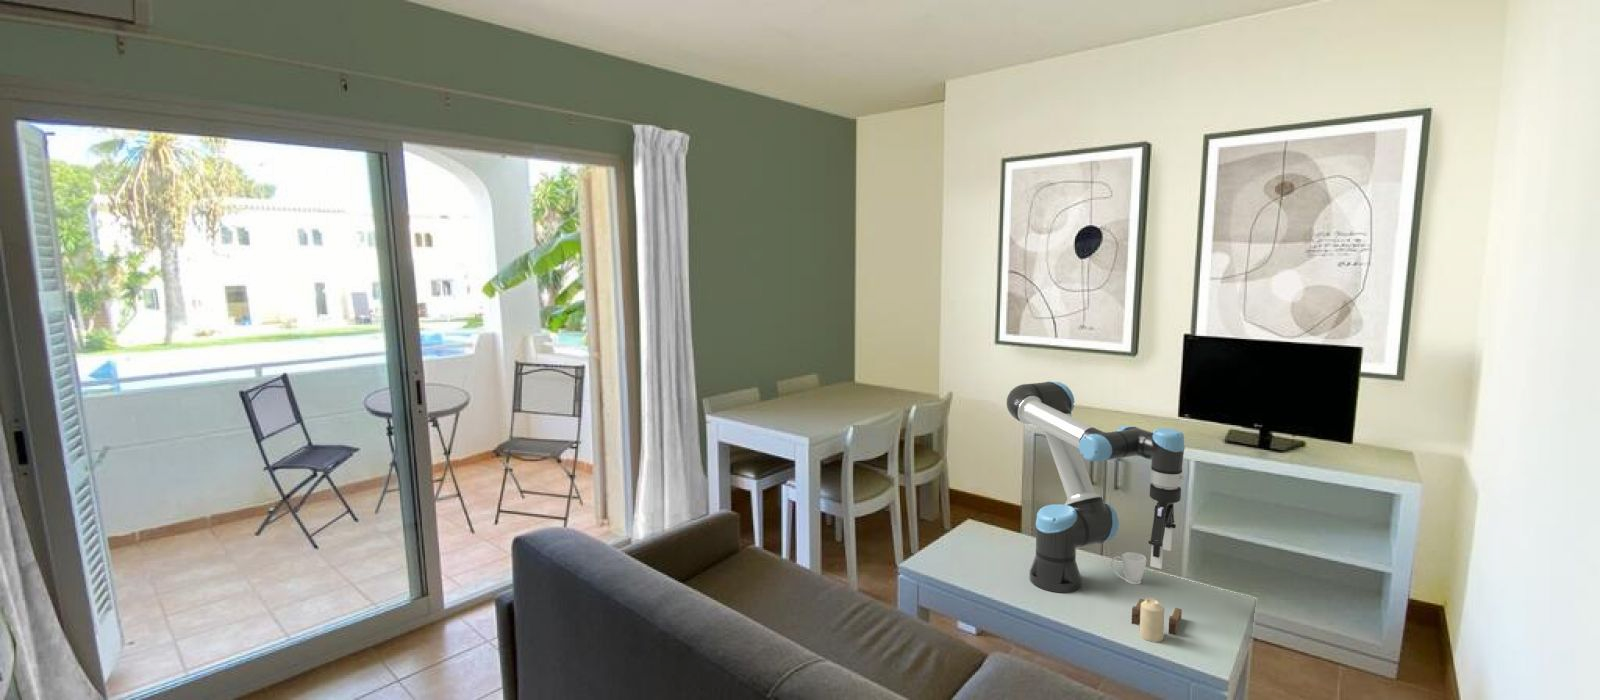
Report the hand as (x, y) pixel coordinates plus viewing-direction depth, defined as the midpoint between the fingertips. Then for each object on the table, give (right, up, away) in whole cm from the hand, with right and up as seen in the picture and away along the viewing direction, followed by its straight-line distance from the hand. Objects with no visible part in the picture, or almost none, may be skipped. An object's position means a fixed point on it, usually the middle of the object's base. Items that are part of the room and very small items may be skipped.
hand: (1160, 558), depth 187 cm
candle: (-8, -18, -10) cm, 22 cm away
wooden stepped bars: (-3, -17, -2) cm, 17 cm away
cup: (+2, -14, +22) cm, 26 cm away
